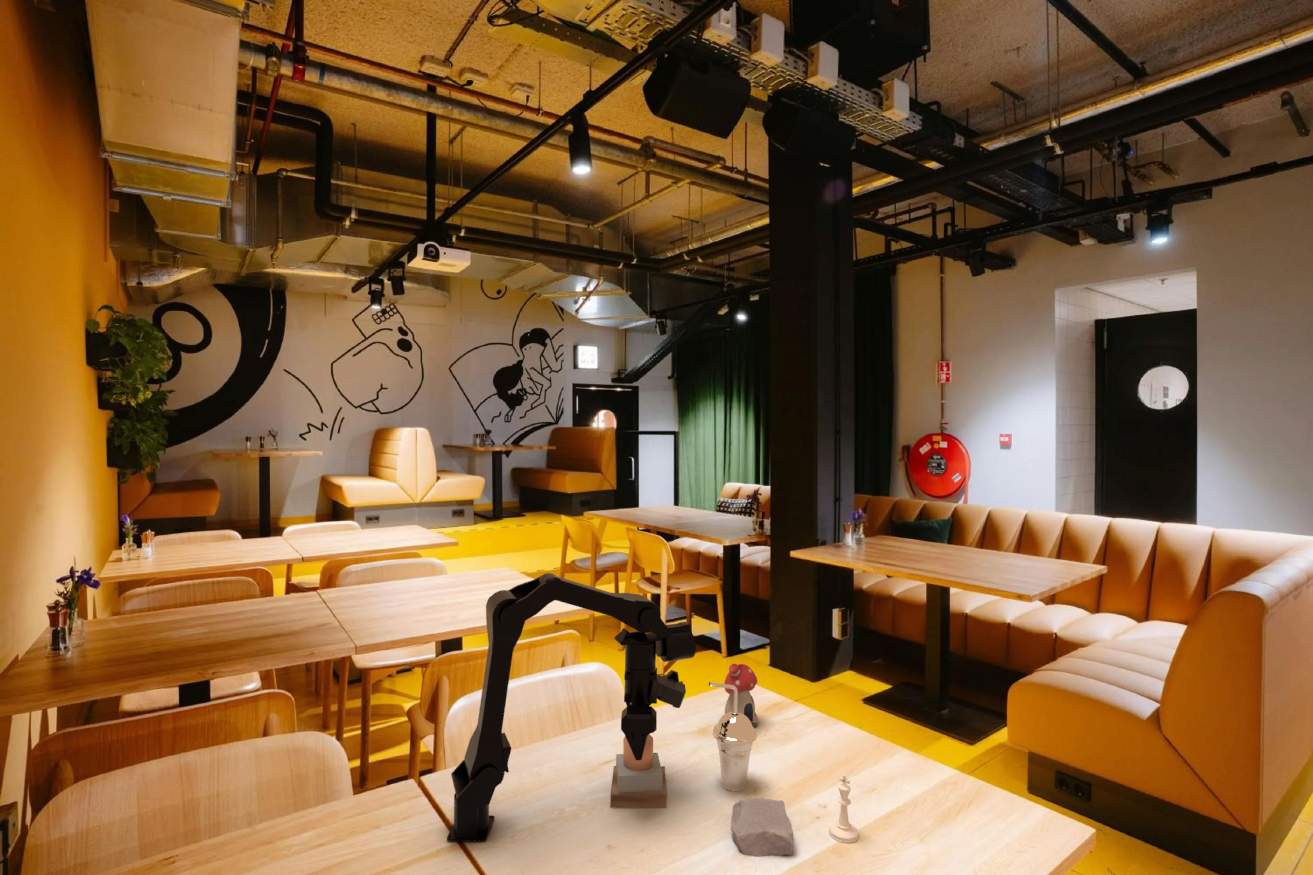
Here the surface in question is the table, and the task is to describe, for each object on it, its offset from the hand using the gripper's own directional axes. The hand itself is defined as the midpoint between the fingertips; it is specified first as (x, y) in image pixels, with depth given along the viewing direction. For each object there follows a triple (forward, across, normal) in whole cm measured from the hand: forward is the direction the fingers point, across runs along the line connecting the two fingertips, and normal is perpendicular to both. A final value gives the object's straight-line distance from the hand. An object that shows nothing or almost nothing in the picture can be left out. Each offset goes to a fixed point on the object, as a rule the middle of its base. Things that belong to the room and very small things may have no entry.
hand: (639, 747), depth 123 cm
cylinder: (+3, 0, 0) cm, 3 cm away
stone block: (+9, -12, -21) cm, 26 cm away
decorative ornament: (+9, +28, -23) cm, 37 cm away
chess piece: (+9, -12, -35) cm, 38 cm away
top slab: (+6, 0, 0) cm, 6 cm away
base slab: (+9, 0, 0) cm, 9 cm away
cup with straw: (+9, +3, -18) cm, 20 cm away
